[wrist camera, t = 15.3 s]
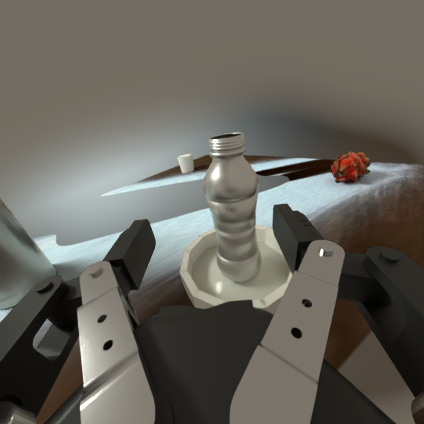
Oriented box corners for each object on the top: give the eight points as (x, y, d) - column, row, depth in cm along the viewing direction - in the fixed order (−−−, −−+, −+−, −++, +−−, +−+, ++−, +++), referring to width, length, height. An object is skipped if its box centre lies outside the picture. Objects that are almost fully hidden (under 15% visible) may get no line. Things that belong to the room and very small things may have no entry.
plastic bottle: (260, 292, 25) (256, 138, 16) (213, 284, 28) (184, 145, 18) (263, 258, 31) (262, 127, 21) (223, 254, 33) (205, 134, 23)
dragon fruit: (360, 179, 56) (336, 197, 53) (338, 160, 59) (314, 176, 55) (386, 159, 49) (361, 179, 45) (359, 139, 51) (333, 156, 48)
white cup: (195, 167, 88) (193, 152, 84) (194, 172, 82) (191, 156, 78) (181, 169, 88) (178, 154, 85) (179, 174, 82) (175, 158, 79)
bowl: (172, 266, 33) (166, 249, 32) (247, 229, 40) (246, 213, 38) (222, 361, 20) (218, 342, 18) (323, 283, 26) (328, 263, 24)
